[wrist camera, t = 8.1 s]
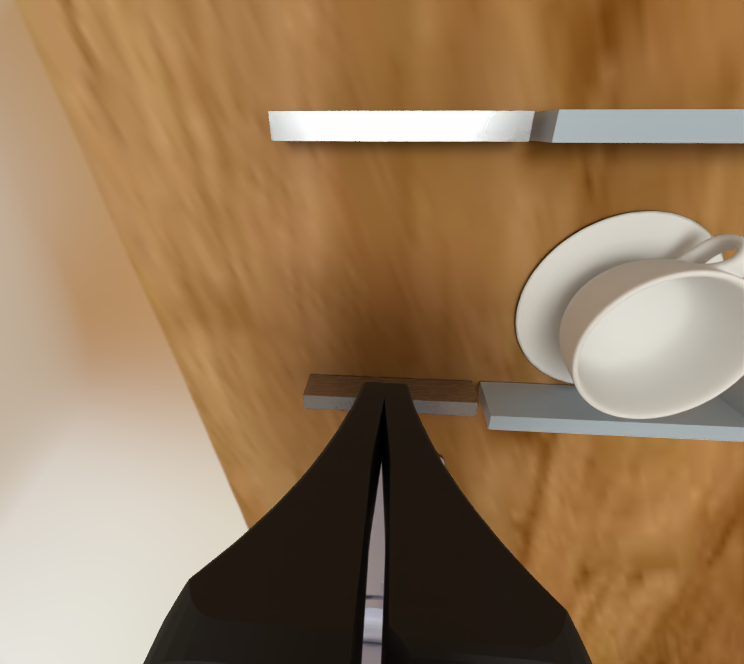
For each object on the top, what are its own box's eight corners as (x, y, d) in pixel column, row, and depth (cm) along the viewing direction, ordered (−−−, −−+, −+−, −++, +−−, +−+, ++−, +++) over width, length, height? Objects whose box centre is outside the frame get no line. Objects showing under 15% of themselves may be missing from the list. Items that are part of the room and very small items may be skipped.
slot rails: (469, 393, 22) (475, 416, 21) (311, 387, 23) (304, 408, 21) (519, 112, 15) (534, 110, 13) (283, 113, 15) (268, 111, 14)
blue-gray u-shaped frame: (721, 404, 21) (766, 442, 19) (477, 394, 22) (488, 429, 20) (908, 112, 14) (1024, 109, 11) (531, 112, 15) (559, 109, 12)
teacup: (607, 403, 22) (654, 465, 18) (476, 334, 20) (495, 386, 16) (765, 271, 18) (874, 314, 14) (613, 166, 16) (686, 180, 12)
